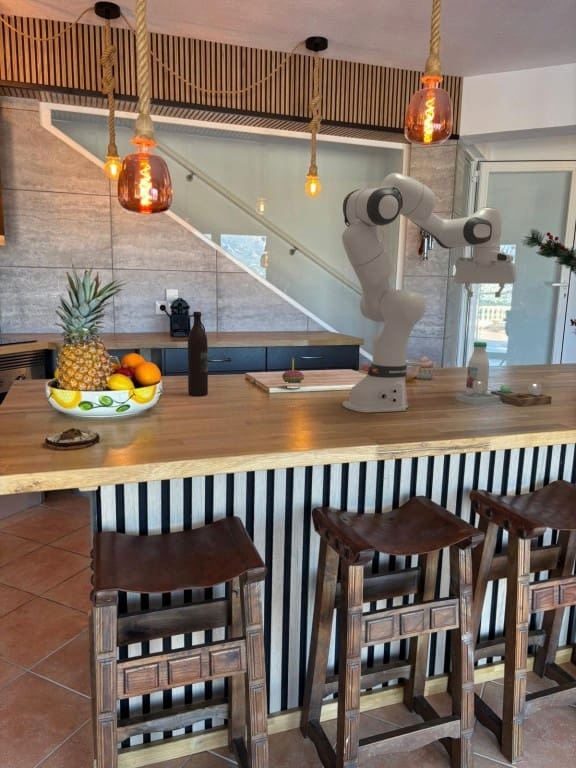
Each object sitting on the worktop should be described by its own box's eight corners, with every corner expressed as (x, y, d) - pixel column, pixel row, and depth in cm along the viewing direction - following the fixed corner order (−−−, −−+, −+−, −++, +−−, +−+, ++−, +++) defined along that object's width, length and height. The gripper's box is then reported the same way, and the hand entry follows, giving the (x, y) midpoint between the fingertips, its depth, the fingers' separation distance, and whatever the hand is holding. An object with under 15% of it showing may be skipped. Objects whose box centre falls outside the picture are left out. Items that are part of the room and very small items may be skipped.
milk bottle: (484, 393, 218) (488, 341, 215) (489, 397, 210) (493, 343, 207) (463, 392, 219) (467, 340, 215) (468, 396, 211) (472, 343, 208)
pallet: (519, 408, 192) (520, 399, 191) (501, 403, 199) (502, 395, 198) (550, 404, 198) (551, 396, 198) (532, 400, 205) (533, 392, 205)
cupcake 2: (436, 378, 252) (437, 355, 250) (432, 381, 243) (434, 358, 242) (415, 376, 256) (416, 354, 254) (411, 379, 247) (412, 356, 245)
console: (504, 402, 200) (505, 394, 200) (490, 399, 206) (490, 391, 206) (519, 401, 203) (520, 393, 203) (504, 397, 209) (504, 389, 209)
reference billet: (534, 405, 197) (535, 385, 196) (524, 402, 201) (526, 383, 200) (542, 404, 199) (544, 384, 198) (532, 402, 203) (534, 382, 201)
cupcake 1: (281, 386, 226) (281, 356, 224) (302, 386, 227) (302, 356, 224) (283, 390, 217) (283, 359, 215) (305, 390, 218) (305, 359, 216)
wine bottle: (202, 397, 201) (201, 312, 196) (184, 395, 203) (183, 311, 198) (211, 393, 208) (210, 311, 202) (194, 392, 210) (193, 311, 205)
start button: (505, 396, 202) (505, 387, 202) (497, 394, 205) (498, 386, 205) (512, 395, 204) (512, 387, 203) (504, 393, 207) (505, 385, 206)
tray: (473, 406, 194) (474, 398, 194) (455, 401, 202) (456, 394, 202) (499, 403, 199) (500, 396, 199) (480, 398, 207) (481, 391, 207)
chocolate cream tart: (70, 457, 132) (69, 439, 131) (27, 447, 139) (26, 431, 138) (116, 442, 145) (116, 426, 144) (75, 434, 152) (75, 419, 151)
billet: (477, 402, 198) (478, 382, 197) (469, 400, 201) (470, 380, 200) (486, 401, 200) (487, 381, 198) (477, 399, 203) (479, 380, 202)
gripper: (453, 257, 198) (451, 296, 201) (515, 255, 188) (512, 297, 191) (458, 257, 204) (456, 296, 206) (518, 256, 193) (515, 297, 196)
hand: (483, 297), depth 198 cm, fingers open, 8 cm apart
